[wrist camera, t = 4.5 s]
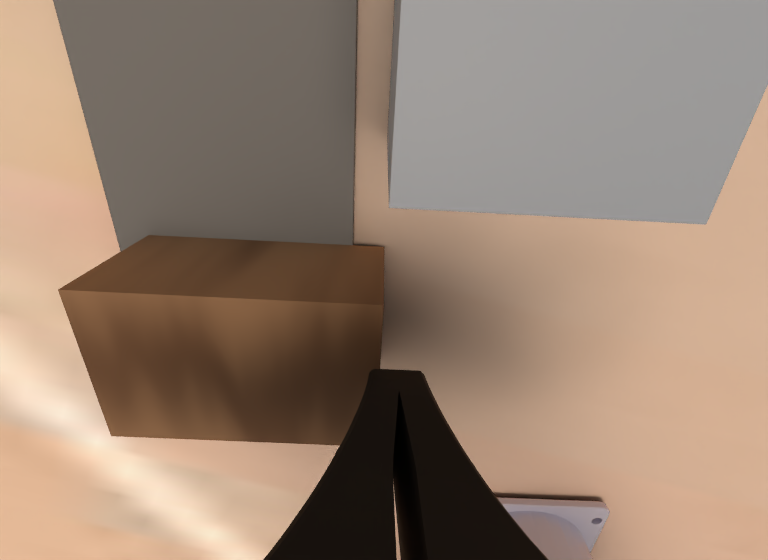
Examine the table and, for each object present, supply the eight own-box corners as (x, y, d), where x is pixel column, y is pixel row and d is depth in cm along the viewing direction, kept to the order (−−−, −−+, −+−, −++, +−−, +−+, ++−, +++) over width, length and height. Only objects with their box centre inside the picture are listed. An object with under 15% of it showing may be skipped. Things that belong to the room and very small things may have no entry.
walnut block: (375, 446, 12) (111, 435, 12) (377, 363, 15) (175, 354, 15) (383, 305, 10) (58, 289, 9) (384, 246, 13) (148, 235, 13)
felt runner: (350, 395, 17) (349, 400, 16) (162, 387, 16) (158, 392, 16) (361, -221, 9) (360, -232, 8) (-5, -248, 8) (-18, -260, 8)
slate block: (515, 144, 12) (706, 224, 5) (387, 137, 12) (389, 207, 5) (554, -62, 10) (1013, -475, 3) (398, -72, 10) (432, -527, 3)
